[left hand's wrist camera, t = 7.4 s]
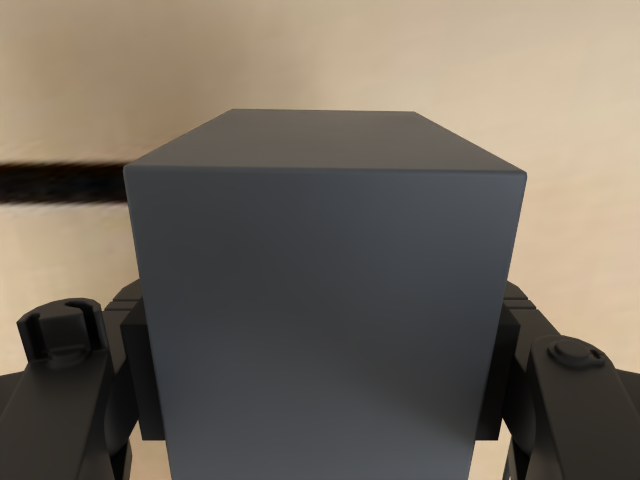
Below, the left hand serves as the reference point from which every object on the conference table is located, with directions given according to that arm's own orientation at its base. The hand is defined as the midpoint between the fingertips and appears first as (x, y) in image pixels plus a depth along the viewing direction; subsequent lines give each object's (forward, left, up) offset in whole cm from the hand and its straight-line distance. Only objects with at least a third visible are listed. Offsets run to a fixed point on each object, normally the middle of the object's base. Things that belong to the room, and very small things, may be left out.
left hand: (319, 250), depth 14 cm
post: (+19, +13, -1) cm, 23 cm away
